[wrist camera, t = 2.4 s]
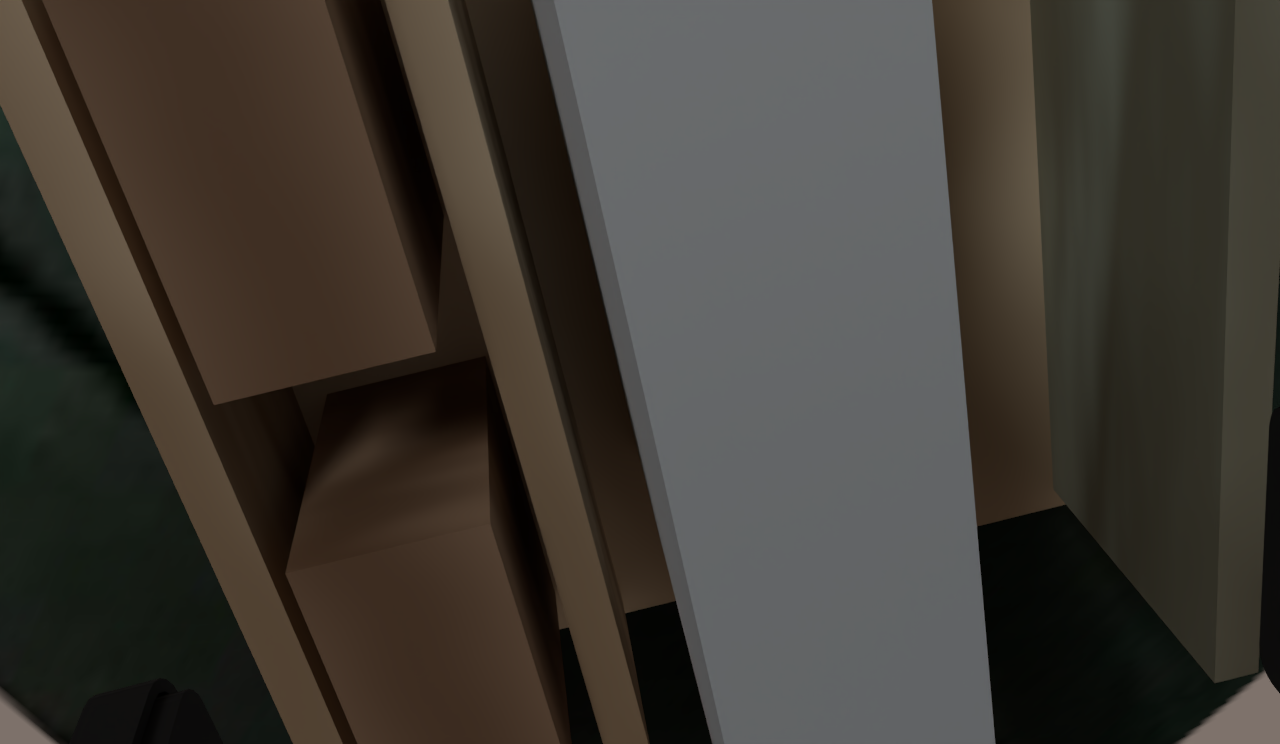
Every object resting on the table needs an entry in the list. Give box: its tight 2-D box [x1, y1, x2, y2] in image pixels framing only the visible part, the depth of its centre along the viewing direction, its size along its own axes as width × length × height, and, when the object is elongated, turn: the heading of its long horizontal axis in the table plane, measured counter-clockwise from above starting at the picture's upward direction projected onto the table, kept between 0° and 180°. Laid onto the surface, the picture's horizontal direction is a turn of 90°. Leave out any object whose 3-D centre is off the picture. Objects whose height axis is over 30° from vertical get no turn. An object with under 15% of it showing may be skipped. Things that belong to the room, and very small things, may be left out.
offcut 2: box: [285, 356, 572, 744], centre depth 22 cm, size 3×6×6 cm, turn 12°
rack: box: [0, 0, 1280, 744], centre depth 21 cm, size 19×17×8 cm
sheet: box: [531, 0, 995, 744], centre depth 16 cm, size 2×12×15 cm, turn 12°
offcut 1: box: [42, 0, 444, 405], centre depth 18 cm, size 3×6×6 cm, turn 12°
